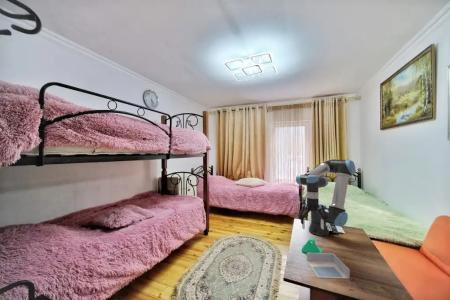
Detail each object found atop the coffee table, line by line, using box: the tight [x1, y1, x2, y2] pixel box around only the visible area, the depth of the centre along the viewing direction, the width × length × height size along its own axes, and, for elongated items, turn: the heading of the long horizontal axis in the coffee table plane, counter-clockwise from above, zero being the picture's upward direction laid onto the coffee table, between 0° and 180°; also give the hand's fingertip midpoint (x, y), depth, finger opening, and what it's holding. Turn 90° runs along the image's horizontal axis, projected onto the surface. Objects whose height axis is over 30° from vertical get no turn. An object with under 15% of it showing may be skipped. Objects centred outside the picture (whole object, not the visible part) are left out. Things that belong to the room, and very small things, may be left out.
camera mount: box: [301, 237, 323, 254], centre depth 133 cm, size 12×8×10 cm, turn 56°
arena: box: [306, 252, 351, 280], centre depth 115 cm, size 17×17×5 cm
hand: (312, 228), depth 134 cm, fingers open, 12 cm apart
